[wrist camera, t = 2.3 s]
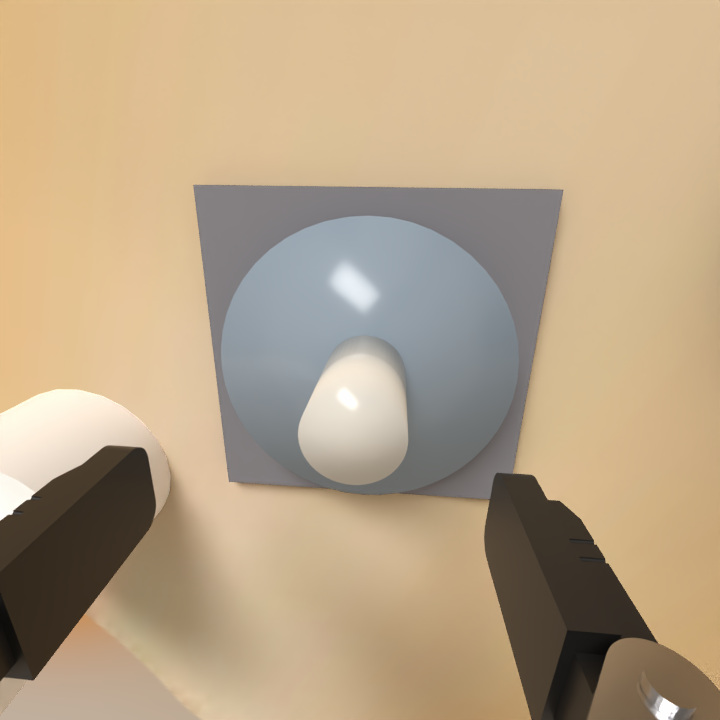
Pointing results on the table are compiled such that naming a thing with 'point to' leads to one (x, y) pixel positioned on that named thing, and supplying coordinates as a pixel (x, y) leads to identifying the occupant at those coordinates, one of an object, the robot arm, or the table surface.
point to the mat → (419, 205)
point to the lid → (370, 355)
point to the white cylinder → (65, 453)
